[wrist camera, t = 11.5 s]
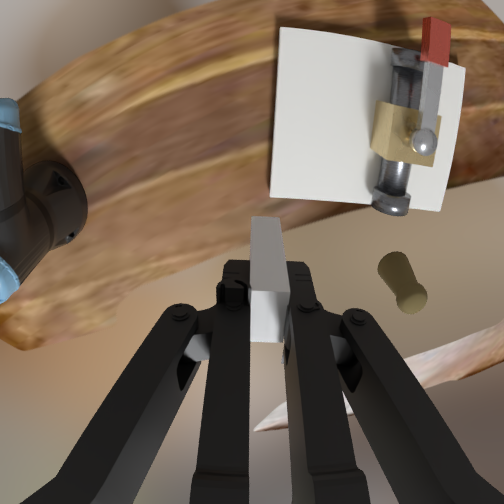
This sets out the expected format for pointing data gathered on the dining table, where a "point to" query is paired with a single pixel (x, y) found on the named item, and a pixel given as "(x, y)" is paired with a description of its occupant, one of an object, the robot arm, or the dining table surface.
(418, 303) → the cork
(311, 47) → the mounting board
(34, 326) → the dining table surface
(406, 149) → the valve body
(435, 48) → the valve lever
